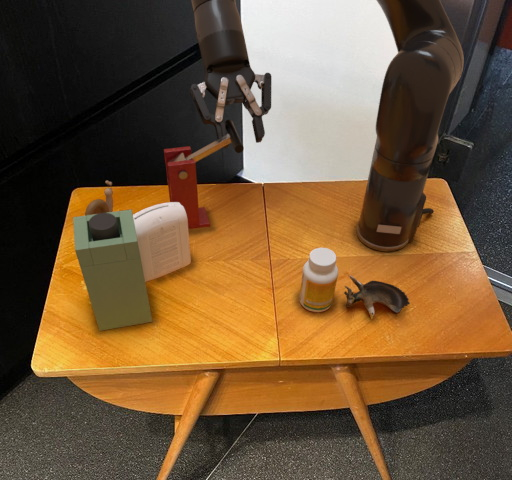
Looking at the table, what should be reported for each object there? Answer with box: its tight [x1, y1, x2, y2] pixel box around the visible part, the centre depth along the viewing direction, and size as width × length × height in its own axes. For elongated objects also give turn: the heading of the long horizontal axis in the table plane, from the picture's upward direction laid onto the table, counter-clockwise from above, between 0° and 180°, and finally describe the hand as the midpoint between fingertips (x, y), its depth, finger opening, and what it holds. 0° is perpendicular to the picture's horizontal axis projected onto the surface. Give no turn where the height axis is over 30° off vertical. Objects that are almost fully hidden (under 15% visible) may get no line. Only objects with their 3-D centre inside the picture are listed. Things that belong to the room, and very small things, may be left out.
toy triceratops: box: [344, 274, 411, 320], centre depth 85 cm, size 8×7×9 cm
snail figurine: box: [84, 179, 114, 216], centre depth 90 cm, size 5×6×12 cm
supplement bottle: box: [298, 247, 339, 313], centre depth 84 cm, size 5×5×10 cm
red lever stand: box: [163, 145, 211, 230], centre depth 94 cm, size 8×6×14 cm
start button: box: [89, 213, 120, 241], centre depth 73 cm, size 4×4×3 cm
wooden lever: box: [169, 119, 245, 163], centre depth 89 cm, size 12×8×2 cm, turn 104°
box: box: [72, 209, 153, 332], centre depth 79 cm, size 8×7×16 cm
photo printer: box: [133, 201, 192, 283], centre depth 87 cm, size 10×4×12 cm, turn 123°
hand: (243, 143), depth 91 cm, fingers open, 5 cm apart
